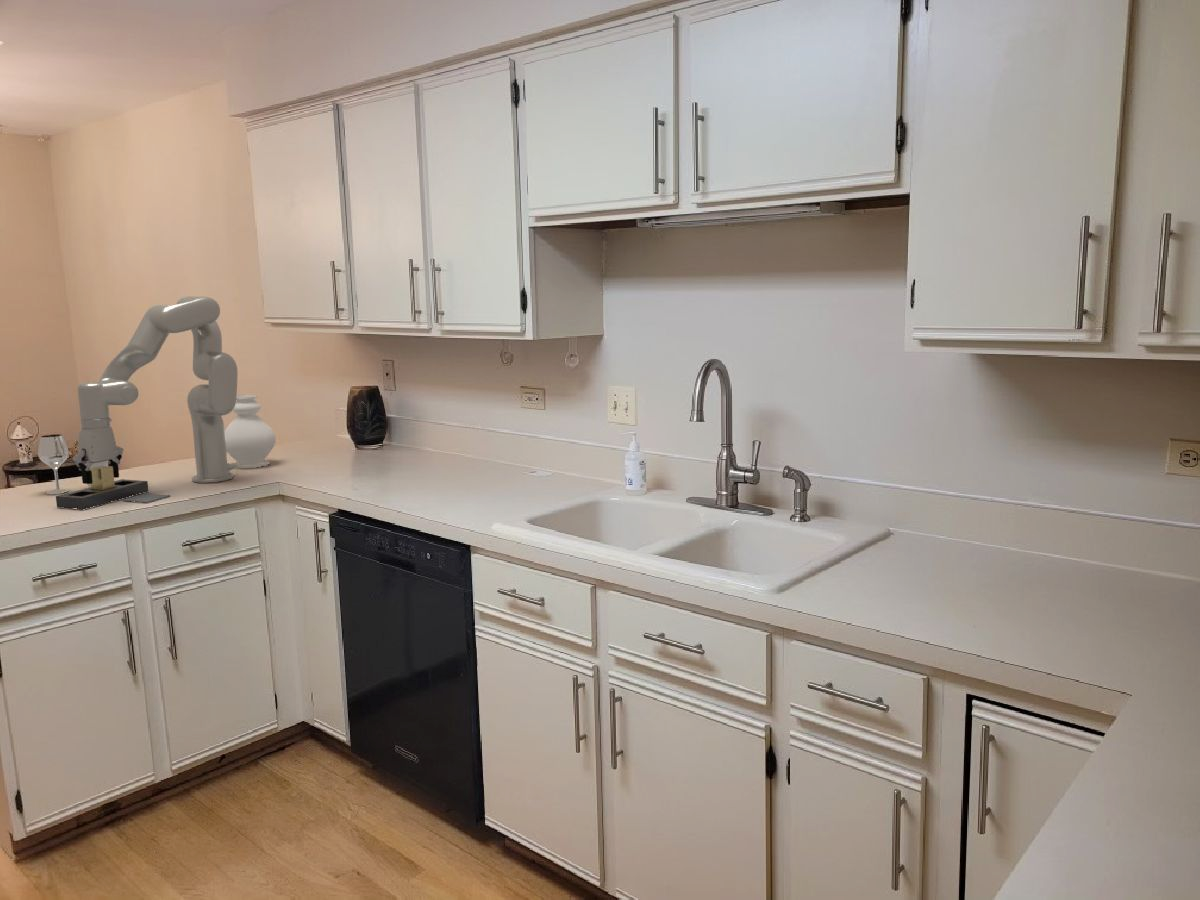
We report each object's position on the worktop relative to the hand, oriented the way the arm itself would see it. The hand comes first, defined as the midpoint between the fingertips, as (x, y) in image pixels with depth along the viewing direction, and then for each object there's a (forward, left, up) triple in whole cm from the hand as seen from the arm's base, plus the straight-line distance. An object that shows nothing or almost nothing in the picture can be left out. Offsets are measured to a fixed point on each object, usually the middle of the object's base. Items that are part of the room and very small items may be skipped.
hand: (101, 480), depth 267 cm
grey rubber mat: (-4, +12, -6) cm, 14 cm away
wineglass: (-4, -22, -6) cm, 24 cm away
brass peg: (0, 0, -6) cm, 6 cm away
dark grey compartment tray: (0, 0, -6) cm, 6 cm away
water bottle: (-13, -15, -6) cm, 21 cm away
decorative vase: (-57, +8, -6) cm, 58 cm away
